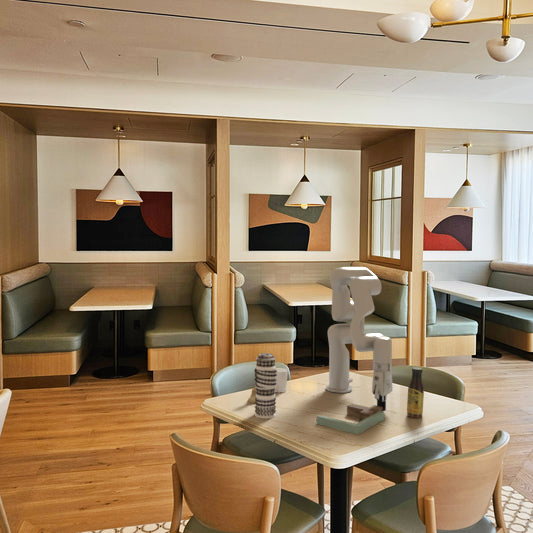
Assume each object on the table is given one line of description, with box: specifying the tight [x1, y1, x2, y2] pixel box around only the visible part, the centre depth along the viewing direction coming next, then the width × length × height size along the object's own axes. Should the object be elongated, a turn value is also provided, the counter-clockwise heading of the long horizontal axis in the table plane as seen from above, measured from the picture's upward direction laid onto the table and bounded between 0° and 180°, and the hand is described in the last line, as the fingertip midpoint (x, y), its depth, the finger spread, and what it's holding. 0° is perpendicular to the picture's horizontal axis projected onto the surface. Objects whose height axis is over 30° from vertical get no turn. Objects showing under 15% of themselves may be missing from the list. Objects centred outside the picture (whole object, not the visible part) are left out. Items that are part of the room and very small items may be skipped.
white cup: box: [275, 367, 289, 393], centre depth 250 cm, size 8×8×10 cm
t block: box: [346, 403, 384, 423], centre depth 212 cm, size 12×12×4 cm
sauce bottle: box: [406, 366, 425, 419], centre depth 214 cm, size 6×6×20 cm
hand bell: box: [247, 370, 257, 404], centre depth 233 cm, size 8×8×16 cm
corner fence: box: [316, 411, 385, 435], centre depth 207 cm, size 22×18×3 cm
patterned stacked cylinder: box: [254, 352, 277, 419], centre depth 214 cm, size 9×9×25 cm
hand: (381, 410), depth 218 cm, fingers closed
